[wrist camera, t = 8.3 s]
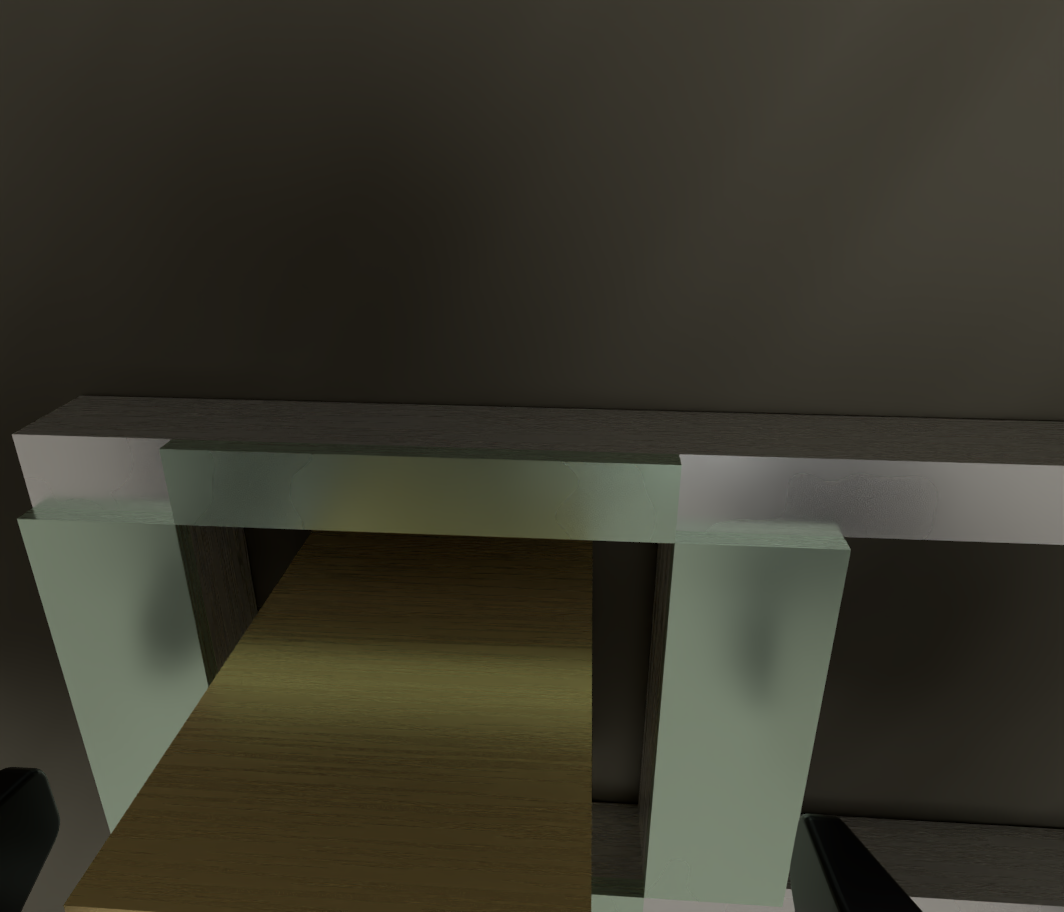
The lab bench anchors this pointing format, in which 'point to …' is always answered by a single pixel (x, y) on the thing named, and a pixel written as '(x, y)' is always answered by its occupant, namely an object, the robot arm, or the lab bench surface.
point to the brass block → (381, 742)
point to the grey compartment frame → (550, 513)
